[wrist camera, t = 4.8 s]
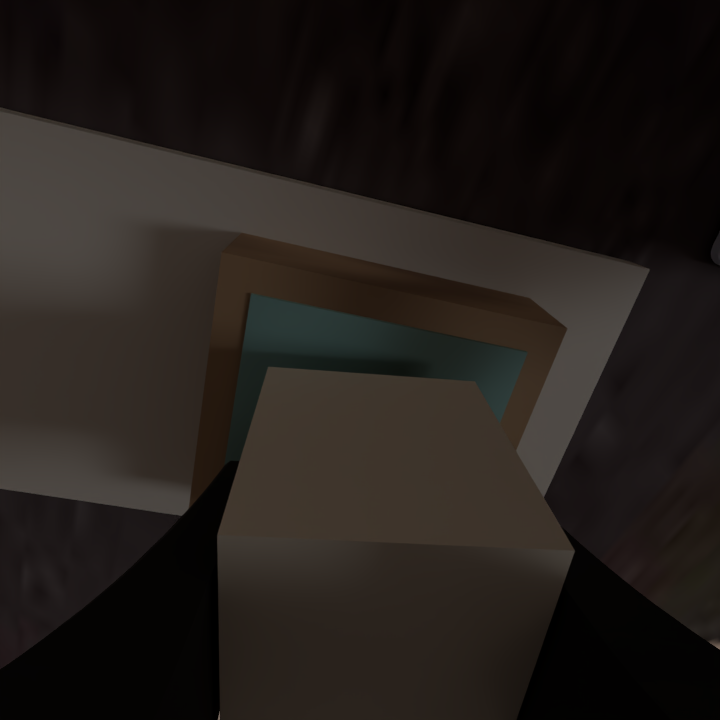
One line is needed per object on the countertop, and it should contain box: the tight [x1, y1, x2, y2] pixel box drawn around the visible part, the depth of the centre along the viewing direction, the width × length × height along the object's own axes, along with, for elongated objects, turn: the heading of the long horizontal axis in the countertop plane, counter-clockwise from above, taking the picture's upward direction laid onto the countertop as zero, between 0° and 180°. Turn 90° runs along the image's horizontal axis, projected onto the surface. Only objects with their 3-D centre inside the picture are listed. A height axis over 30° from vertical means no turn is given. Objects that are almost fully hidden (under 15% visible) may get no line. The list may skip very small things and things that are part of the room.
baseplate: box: [0, 108, 650, 516], centre depth 15 cm, size 20×11×1 cm, turn 77°
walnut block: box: [189, 233, 568, 508], centre depth 14 cm, size 8×8×3 cm
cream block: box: [217, 367, 575, 720], centre depth 9 cm, size 4×4×5 cm
